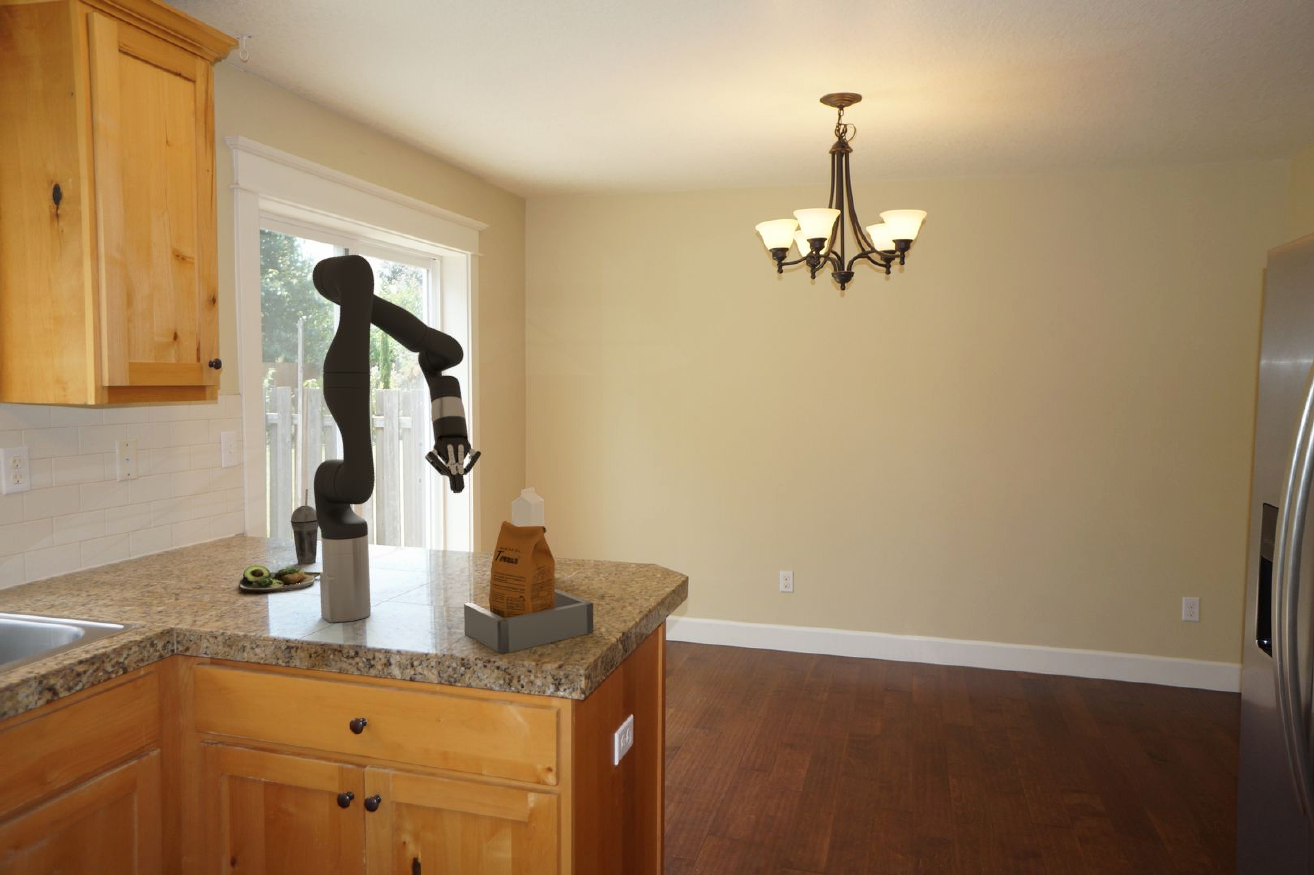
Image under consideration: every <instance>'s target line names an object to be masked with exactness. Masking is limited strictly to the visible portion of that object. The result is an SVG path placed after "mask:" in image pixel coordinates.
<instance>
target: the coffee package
mask: <svg viewBox="0 0 1314 875" xmlns="http://www.w3.org/2000/svg"><path fill="white" fill-rule="evenodd" d="M499 530H500V531H499V533H498V536H497V541H496V546H495V548H494V552H493V559H492V560H491V570H490V580H489V581H490V582H489V596H488V602H489V611H490V612H492V613H494V614H496V615H498V616H500V617H502V618H509V617H514V616H519V615H524V614H529V613H534V612H539V611H544V610H549V609H554V608H555V607H554V604H555V594H554V592H555V589H556V580H555V579H556V578H555V572H556V571H555V570H556V569H555V568H556V567H555V566H556V564H555V563H556V562H555V558H554V556H553V554H552V551H551V549H550V546H549V544H548V543H547V539H546V535H545V536H544V533H545V534H546V533H547V528H546V527H544V526H522V527H517V526H515V525H513V524H512V522H508V521H506V520H504V521H502V523H501V526H500V529H499Z"/></svg>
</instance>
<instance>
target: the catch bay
mask: <svg viewBox="0 0 1314 875" xmlns="http://www.w3.org/2000/svg"><path fill="white" fill-rule="evenodd" d="M554 594H555V604H554V607H555V608H554V609H549V610H544V611H539V612H534V613H529V614H524V615H519V616H514V617H509V618H502V617H500V616H498V615H496V614H494V613H492V612H490V610H487V609H486V608H484V607H481V606H479V605H477V604H475V603H473V602H467V603H463V611H464V612H463V613H464V614H463V618H464V620H463V622H464V634H465V636H468V637H470V638H472V639H473V640H475V641H477V642H479V643H480V644H483V645H485V646H486V647H488V648H490V649H492V650H493V651H496V652H498V653H499V654H501V655H504V654H508V653H512V652H517V651H521V650H526V649H530V648H533V647H535V648H536V647H538V646H542V645H543V646H544V645H546V644H552V643H556V642H559V641H558V640H561V641H565V640H569V639H572V638H571V637H574V638H576V637H575V636H578V637H582V636H585V635H584V634H587V635H589V634H588V633H591V634H594V633H593V632H594V602H591V601H590V600H587V599H584V598H581V597H579V596H577V595H574V594H570V593H567V592H565V591H563V590H561V589H558V588H555V592H554ZM581 635H582V636H581ZM568 638H569V639H568ZM555 641H556V642H555ZM551 642H552V643H551Z"/></svg>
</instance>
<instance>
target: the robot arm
mask: <svg viewBox="0 0 1314 875" xmlns="http://www.w3.org/2000/svg"><path fill="white" fill-rule="evenodd" d="M311 275H312V282H313V286H314V288H315V289H316V291H317V293H318V294H319V295H320V296H322V297H323V298H325V299H326V300H328V301H330V302H331V303H334V304H335V305H337V306H339V321H338V326H337V329H336V332H335V335H334V336H333V339H332V341H331V343H330V345H329V347H328V350H327V352H326V354H325V357H324V360H323V365H322V366H323V367H322V368H323V369H322V372H323V373H322V392H323V399H324V401H325V404H326V407H327V408H328V411H329V413H330V414H331V416H332V418H333V420H334V423H335V424H336V425H337V428H338V430H339V432H340V437H341V440H342V453H343V457H342V458H341V459H339V458H335V459H333V458H332V459H326V460H324V461H322V462H321V463H320V464H319V465H318V467H317V468H316V471H315V473H314V476H313V477H314V479H313V494H314V496H313V497H314V505H315V506H314V508H315V510H316V518H317V523H318V528H319V529H320V533H321V534H320V535H321V536H320V537H321V563H322V565H321V566H322V571H319V572H320V576H319V587H320V590H319V591H320V609H321V610H320V612H321V615H320V616H321V618H323V619H324V620H325V621H327V622H328V623H336V622H337V623H338V622H339V623H340V622H342V623H343V622H352V621H357V620H358V621H359V620H361V619H365V618H368V617H369V616H371V612H372V611H371V610H372V609H371V607H372V606H371V604H372V603H371V584H370V583H371V581H370V558H369V557H370V555H369V554H370V553H369V550H370V549H369V547H370V546H369V527H368V523H367V521H366V520H365V519H364V518H363V517H360V515H358V514H356V513H355V511H353V509H352V506H351V505H354V506H355V505H363V504H364V503H367V502H368V501H369V500H370V499H371V497H372V494H373V491H374V489H375V479H376V478H375V477H376V476H375V474H376V473H375V463H374V454H373V445H372V444H373V443H372V435H371V434H372V433H371V429H372V428H371V407H370V406H371V404H370V403H371V364H370V363H371V362H370V360H371V358H370V357H371V356H370V355H371V354H370V353H371V327H372V326H371V324H372V325H373V326H375V327H376V328H377V329H379V330H381V331H383V333H385V334H387V335H388V336H390V337H391V338H392V339H393V340H394V341H396V342H397V343H399V344H400V345H401V346H402V347H404V348H405V349H406V350H408V351H410V352H411V353H413V354H414V353H415V354H417V353H418V355H417V361H418V365H419V368H420V370H421V373H422V374H423V376H424V379H425V381H426V384H427V386H428V389H429V397H430V398H429V399H430V405H431V406H430V408H431V409H430V414H431V418H430V419H431V423H432V424H431V425H432V431H433V439H434V445H433V449H432V450H431V451H428V452H427V453H426V455H425V457H424V458H425V460H426V461H427V462H428V463H429V464H430V465H431V466H432V467H433V468H434V469H435V471H436V472H438V474H439V475H440V476H446V477H447V478H448V480H449V487H450V492H452V493H453V494H461V493H462V492H463V491H464V489H465V487H466V486H465V479H464V476H466V475H468V474H469V473H470V472H471V471H472V469H473V467H474V466H475V464H476V463H477V462H478V460H479V459H480V457H481V455H482V452H481V451H480V450H475V449H473V448H472V444H471V443H470V441H469V435H468V428H467V427H468V426H467V419H466V412H465V407H464V404H463V399H462V398H463V397H462V390H461V383H460V381H459V379H458V378H457V377H456V376H453V375H447V374H446V375H443V372H445V371H447V370H449V369H452V368H454V367H457V366H458V365H460V364H461V363H462V361H463V360H464V355H465V354H464V349H463V346H462V345H461V343H460V342H459V341H458V340H457V339H456V338H454V337H453V336H451V335H450V334H448V333H445V332H443V331H441V330H438V329H436V328H433V327H430V326H428V325H427V324H426V323H424V322H423V321H422V320H421V319H419V317H417V316H416V315H415V314H413V313H412V312H410V311H409V310H407V309H406V308H404V307H402V306H399V305H398V304H396V303H394V302H391V301H389V300H386V299H384V298H383V297H380V296H378V295H377V294H375V276H374V275H375V274H374V271H373V268H372V265H371V264H370V262H369V261H368V260H367V259H366V258H365V257H364V256H361V255H359V254H348V255H339V256H330V257H327V258H324V259H321V260H319V261H318V262H317V263H316V264H315V266H314V268H313V270H312V274H311ZM467 456H468V459H469V460H468V463H466V465H465V460H466V458H467ZM464 465H465V467H464Z"/></svg>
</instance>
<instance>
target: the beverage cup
mask: <svg viewBox="0 0 1314 875" xmlns="http://www.w3.org/2000/svg"><path fill="white" fill-rule="evenodd" d="M308 490H309V489H308V488H306V489H305V498H304V500H305V501H304V505H301V506H299V507H297V508H295V509H294V511H292V515H291V518H290V523H291V528H292V532H293V539H294V547H295V554H296V560H297V564H298V565H302V564H304V565H311V564H315V563H316V562H317V552H318V550H317V549H318V548H317V547H318V533H319V532H318V530H319V525H318V523H317V518H316V508H315V507H312V506H311V505H308V496H309V495H308V492H309V491H308Z"/></svg>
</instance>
